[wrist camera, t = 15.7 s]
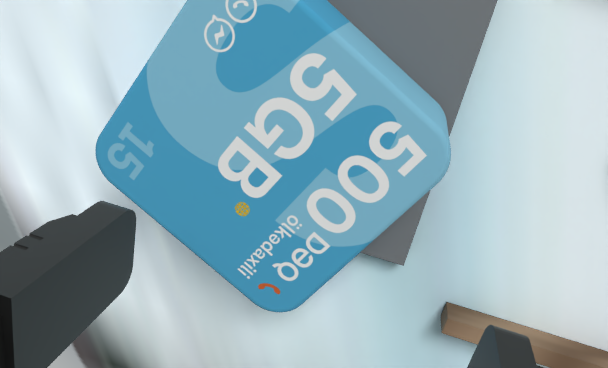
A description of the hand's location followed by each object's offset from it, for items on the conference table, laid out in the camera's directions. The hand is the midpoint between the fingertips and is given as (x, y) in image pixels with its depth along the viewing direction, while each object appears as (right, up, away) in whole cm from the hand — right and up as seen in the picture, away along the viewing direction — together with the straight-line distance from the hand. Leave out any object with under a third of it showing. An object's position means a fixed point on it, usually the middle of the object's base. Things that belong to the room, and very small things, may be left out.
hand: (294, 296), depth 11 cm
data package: (-6, +8, +11) cm, 15 cm away
